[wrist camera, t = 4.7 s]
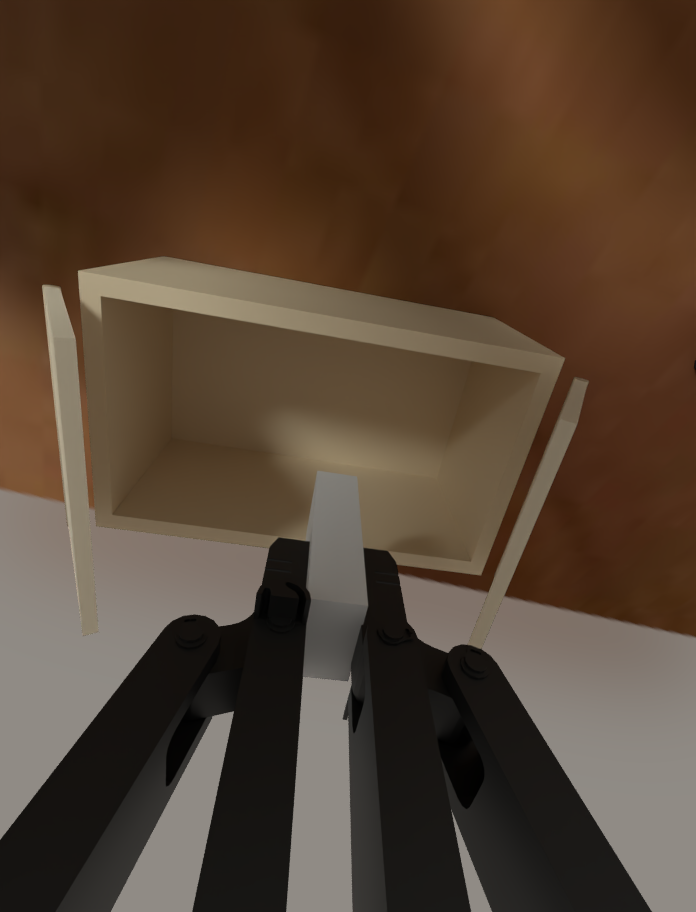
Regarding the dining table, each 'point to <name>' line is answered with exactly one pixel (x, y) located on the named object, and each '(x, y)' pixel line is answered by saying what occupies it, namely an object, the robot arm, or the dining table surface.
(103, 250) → the dining table surface
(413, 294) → the dining table surface
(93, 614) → the flap left
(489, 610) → the flap right
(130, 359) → the carton
